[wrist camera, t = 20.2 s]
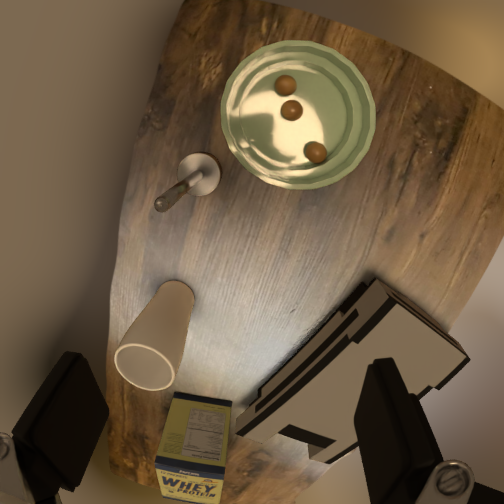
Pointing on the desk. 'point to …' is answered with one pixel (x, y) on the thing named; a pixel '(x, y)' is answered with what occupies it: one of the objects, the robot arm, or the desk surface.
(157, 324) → the drinking glass
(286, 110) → the bead
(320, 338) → the game console
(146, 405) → the desk surface
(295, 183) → the bowl
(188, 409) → the protein box
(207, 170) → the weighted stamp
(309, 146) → the bead
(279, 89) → the bead
